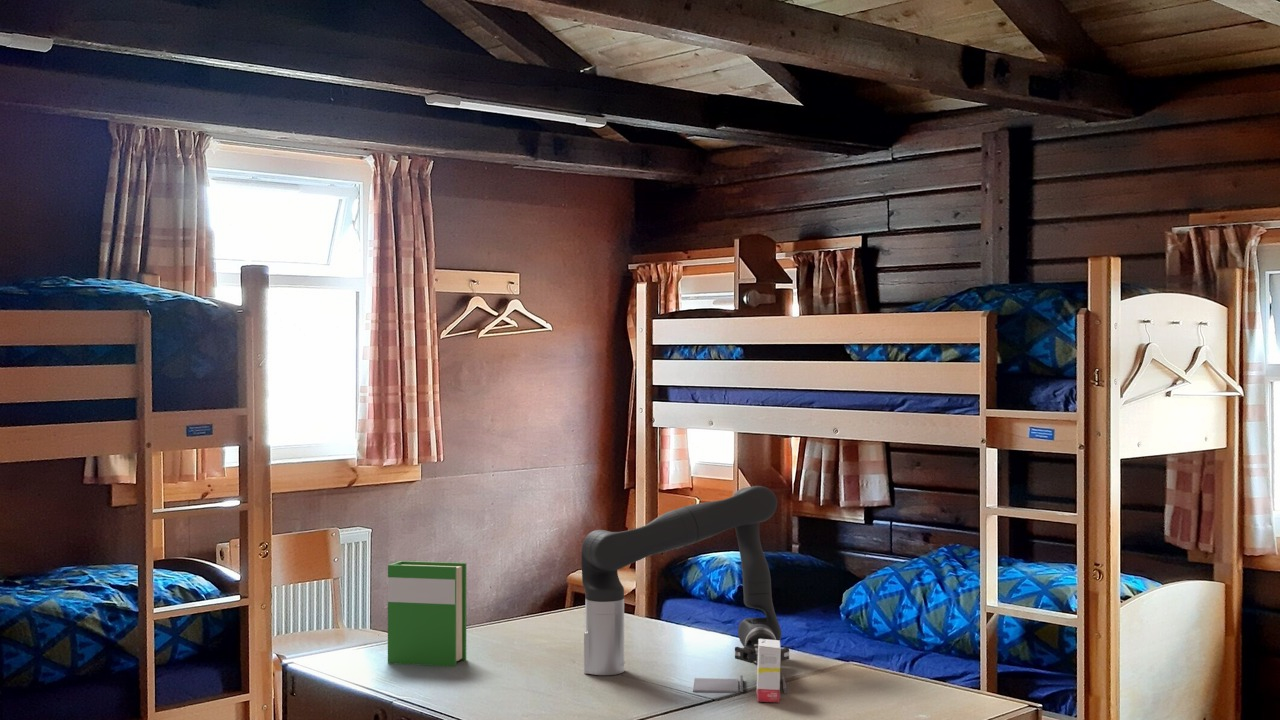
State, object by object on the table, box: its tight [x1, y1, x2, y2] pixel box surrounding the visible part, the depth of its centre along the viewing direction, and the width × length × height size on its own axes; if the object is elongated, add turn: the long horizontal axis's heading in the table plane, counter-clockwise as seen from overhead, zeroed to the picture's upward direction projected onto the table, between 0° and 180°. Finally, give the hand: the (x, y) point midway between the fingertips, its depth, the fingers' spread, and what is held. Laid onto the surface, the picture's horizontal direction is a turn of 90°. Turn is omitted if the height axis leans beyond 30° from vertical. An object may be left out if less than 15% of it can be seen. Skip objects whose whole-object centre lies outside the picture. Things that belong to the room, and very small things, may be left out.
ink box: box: [755, 639, 782, 703], centre depth 258 cm, size 9×5×12 cm, turn 175°
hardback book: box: [387, 560, 467, 667], centre depth 295 cm, size 18×7×24 cm, turn 77°
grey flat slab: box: [692, 675, 787, 694], centre depth 268 cm, size 20×11×1 cm, turn 86°
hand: (763, 661), depth 262 cm, fingers closed
